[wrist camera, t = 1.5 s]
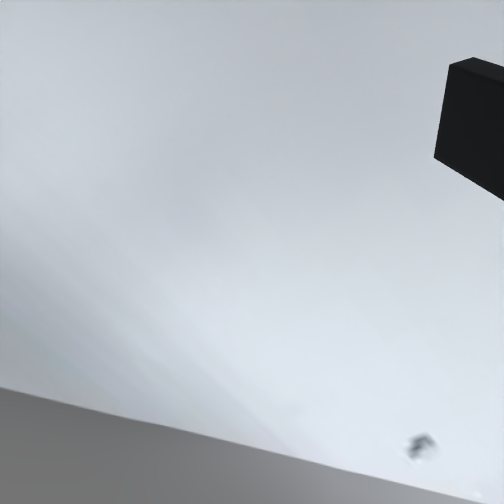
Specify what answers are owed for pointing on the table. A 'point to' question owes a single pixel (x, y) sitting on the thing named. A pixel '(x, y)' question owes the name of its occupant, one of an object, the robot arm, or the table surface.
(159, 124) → the table surface
